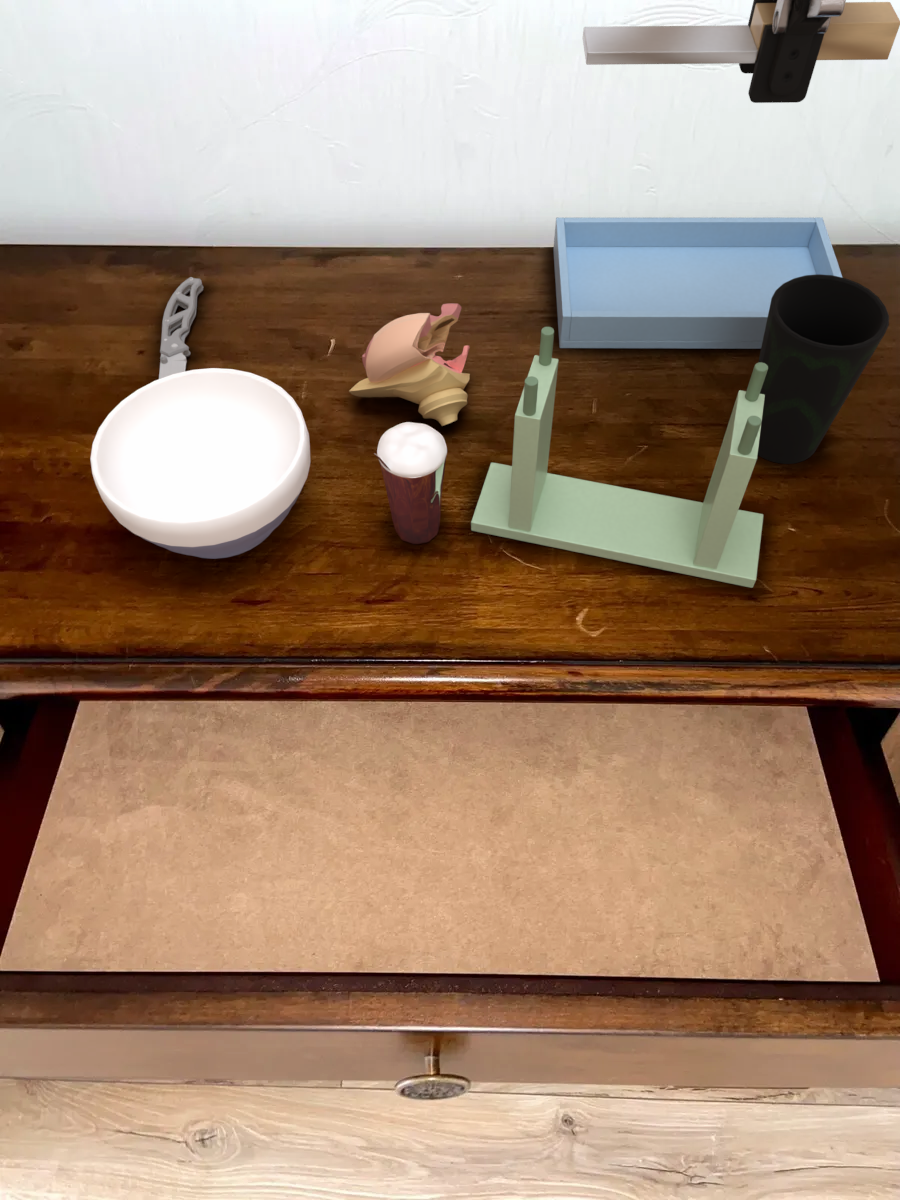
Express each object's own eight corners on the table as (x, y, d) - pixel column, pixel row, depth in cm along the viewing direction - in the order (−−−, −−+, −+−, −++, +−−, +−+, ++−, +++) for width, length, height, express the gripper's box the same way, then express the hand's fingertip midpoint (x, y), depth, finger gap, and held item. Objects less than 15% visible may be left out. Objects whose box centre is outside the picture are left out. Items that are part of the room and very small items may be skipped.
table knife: (875, 36, 55) (888, -2, 53) (889, 62, 53) (902, 24, 51) (582, 39, 55) (585, 1, 53) (586, 65, 53) (590, 27, 52)
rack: (760, 522, 68) (822, 368, 56) (752, 588, 65) (817, 439, 53) (490, 470, 71) (495, 314, 59) (470, 531, 68) (471, 378, 56)
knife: (190, 428, 74) (152, 431, 74) (205, 287, 84) (171, 289, 84) (185, 413, 73) (146, 416, 73) (201, 272, 83) (166, 274, 83)
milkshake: (364, 535, 68) (350, 437, 60) (416, 493, 70) (409, 392, 62) (410, 569, 66) (401, 473, 58) (461, 525, 68) (461, 426, 60)
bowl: (263, 620, 64) (241, 552, 58) (82, 558, 67) (43, 487, 61) (354, 470, 72) (343, 396, 65) (188, 421, 75) (162, 345, 68)
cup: (719, 457, 72) (760, 331, 62) (741, 392, 76) (783, 263, 66) (822, 485, 70) (881, 360, 60) (839, 416, 74) (897, 288, 64)
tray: (811, 249, 86) (822, 217, 83) (842, 349, 78) (856, 317, 76) (553, 249, 86) (556, 217, 84) (559, 348, 79) (562, 316, 76)
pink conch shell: (506, 412, 75) (463, 403, 67) (400, 455, 79) (345, 452, 71) (471, 303, 76) (423, 279, 67) (366, 351, 80) (308, 335, 71)
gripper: (1038, -295, 36) (867, 162, 51) (921, -396, 45) (806, 18, 60) (839, -292, 36) (727, 163, 51) (763, -393, 45) (687, 19, 60)
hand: (770, 82), depth 56 cm, fingers closed on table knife, 2 cm apart
